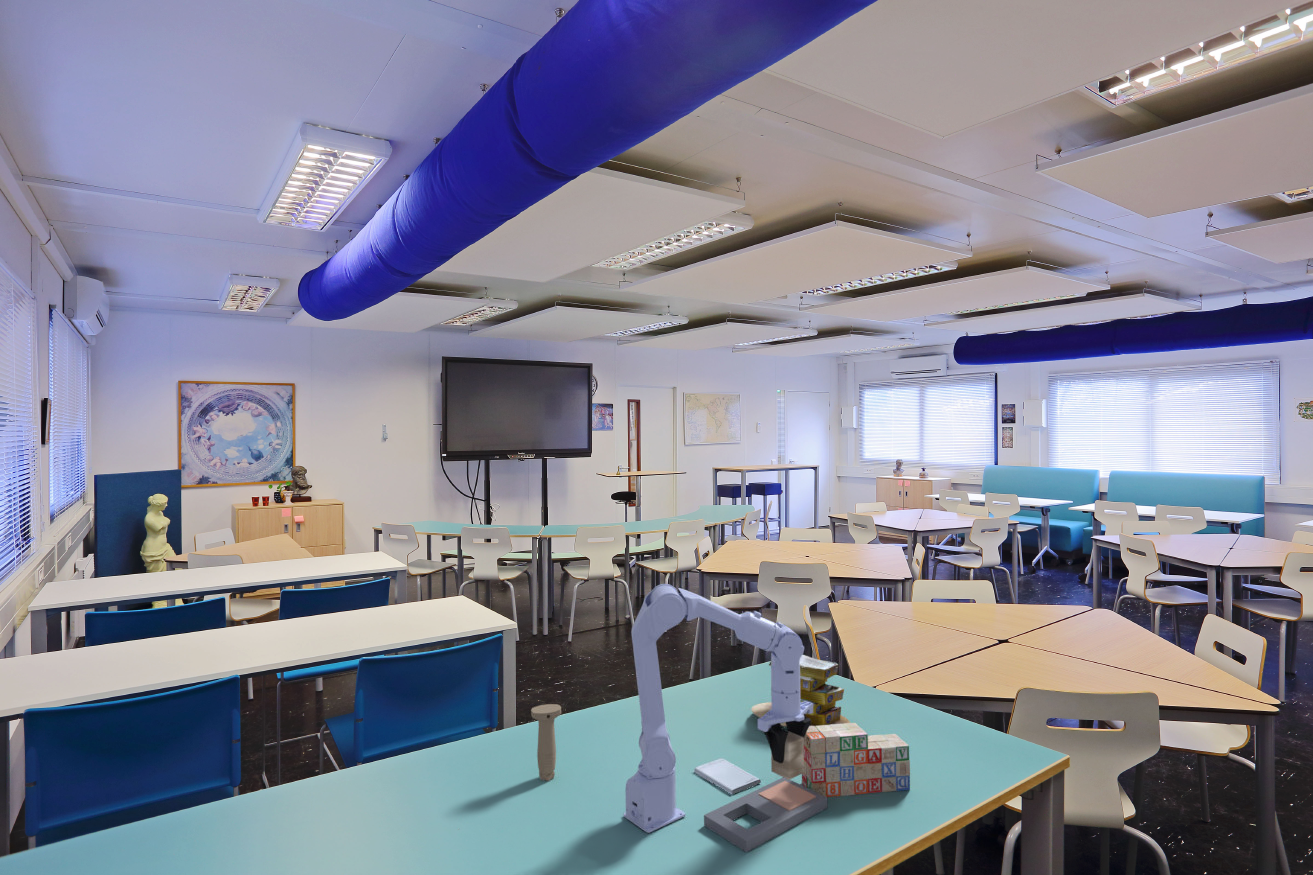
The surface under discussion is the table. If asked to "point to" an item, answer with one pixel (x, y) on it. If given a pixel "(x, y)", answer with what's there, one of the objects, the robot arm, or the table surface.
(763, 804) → the kitting board
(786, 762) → the maple block
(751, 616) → the robot arm
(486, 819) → the table surface
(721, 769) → the hard drive
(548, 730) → the handle
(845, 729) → the stack of blocks
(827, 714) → the stack of yellow boxes
